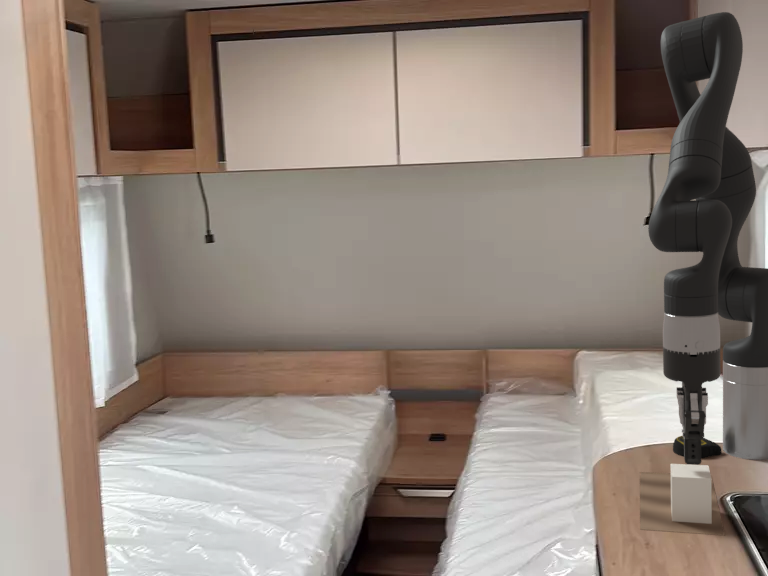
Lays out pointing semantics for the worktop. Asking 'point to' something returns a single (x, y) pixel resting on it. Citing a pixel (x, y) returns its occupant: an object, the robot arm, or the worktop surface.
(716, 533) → the board
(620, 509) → the worktop surface
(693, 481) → the white rectangular block
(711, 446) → the tape measure
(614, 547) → the worktop surface
